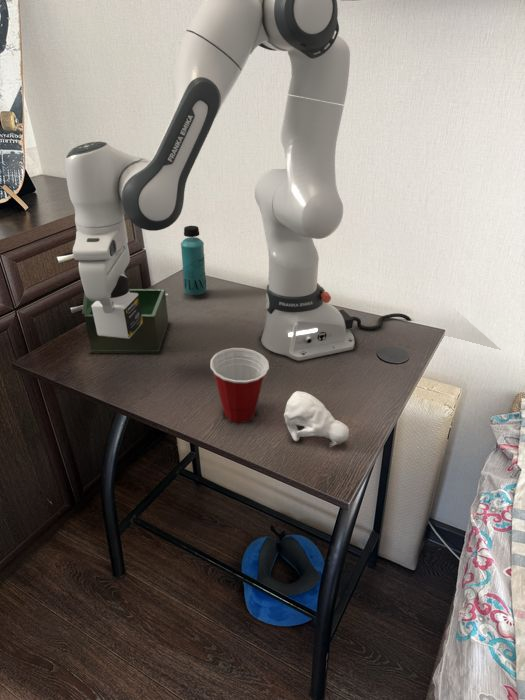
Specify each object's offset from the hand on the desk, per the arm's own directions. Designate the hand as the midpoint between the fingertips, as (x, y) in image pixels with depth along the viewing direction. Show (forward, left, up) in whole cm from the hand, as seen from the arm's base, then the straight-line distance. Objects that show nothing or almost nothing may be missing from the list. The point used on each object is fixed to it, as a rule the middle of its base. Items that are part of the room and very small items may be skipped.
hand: (114, 301), depth 102 cm
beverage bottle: (-18, -36, -17) cm, 44 cm away
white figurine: (-35, +29, -17) cm, 49 cm away
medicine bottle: (0, 0, -7) cm, 7 cm away
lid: (+4, -15, +1) cm, 16 cm away
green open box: (-1, -14, -17) cm, 22 cm away
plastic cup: (-23, +20, -17) cm, 34 cm away
